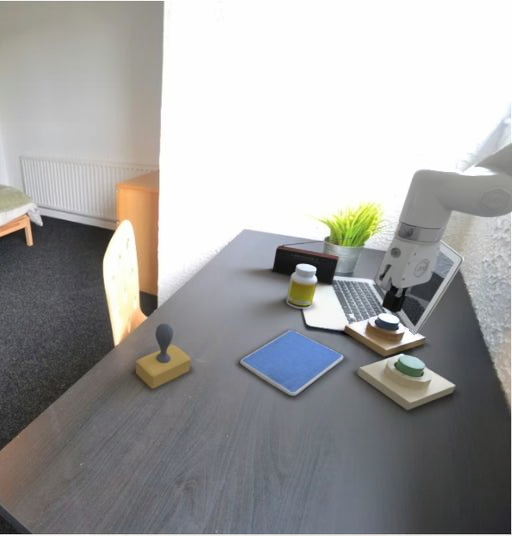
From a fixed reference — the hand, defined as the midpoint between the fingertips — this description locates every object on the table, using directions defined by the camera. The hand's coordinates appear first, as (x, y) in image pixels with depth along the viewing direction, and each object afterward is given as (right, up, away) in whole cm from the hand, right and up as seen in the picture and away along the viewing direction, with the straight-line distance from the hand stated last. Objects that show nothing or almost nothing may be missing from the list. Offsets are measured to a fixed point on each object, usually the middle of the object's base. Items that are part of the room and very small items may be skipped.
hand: (390, 309), depth 83 cm
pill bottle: (-12, -1, +18) cm, 21 cm away
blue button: (0, -4, +2) cm, 4 cm away
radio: (-3, +6, +31) cm, 32 cm away
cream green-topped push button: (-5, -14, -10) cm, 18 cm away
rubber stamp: (-51, -13, -5) cm, 53 cm away
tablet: (-23, -11, -3) cm, 26 cm away
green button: (-5, -10, -11) cm, 16 cm away
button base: (0, -7, +3) cm, 8 cm away
